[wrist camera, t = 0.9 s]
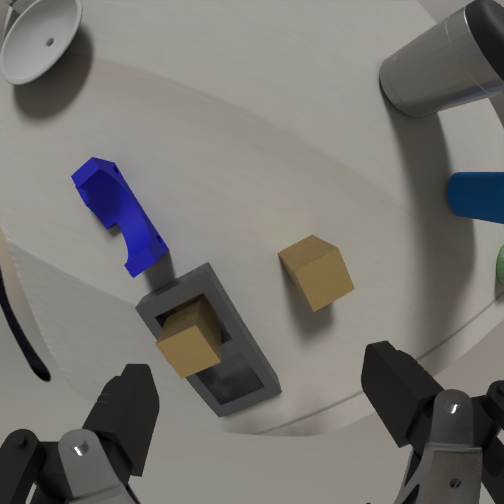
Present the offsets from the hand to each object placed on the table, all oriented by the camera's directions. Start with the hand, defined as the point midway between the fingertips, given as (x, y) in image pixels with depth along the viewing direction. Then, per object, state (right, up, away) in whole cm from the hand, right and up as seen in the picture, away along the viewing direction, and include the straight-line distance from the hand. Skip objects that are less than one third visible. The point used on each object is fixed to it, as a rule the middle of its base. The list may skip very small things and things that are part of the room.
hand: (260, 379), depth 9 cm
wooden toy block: (+6, +4, +23) cm, 24 cm away
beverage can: (+30, +13, +23) cm, 40 cm away
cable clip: (-15, +9, +20) cm, 27 cm away
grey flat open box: (-5, -6, +24) cm, 25 cm away
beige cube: (-7, -3, +22) cm, 24 cm away
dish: (-29, +34, +14) cm, 47 cm away
